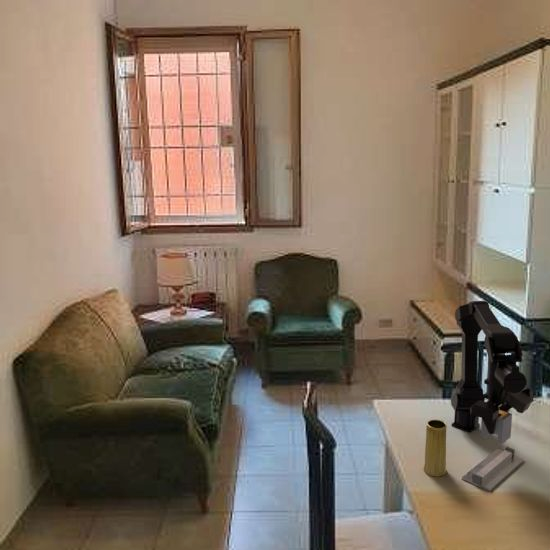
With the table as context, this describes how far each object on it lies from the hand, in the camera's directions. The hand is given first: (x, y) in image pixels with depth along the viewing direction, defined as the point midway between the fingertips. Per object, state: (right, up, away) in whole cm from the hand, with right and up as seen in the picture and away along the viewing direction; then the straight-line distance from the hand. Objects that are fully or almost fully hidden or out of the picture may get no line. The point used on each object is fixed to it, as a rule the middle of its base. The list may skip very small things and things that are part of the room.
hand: (495, 430), depth 153 cm
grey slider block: (0, -2, 0) cm, 2 cm away
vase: (-16, -12, +3) cm, 20 cm away
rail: (0, -12, +3) cm, 12 cm away
